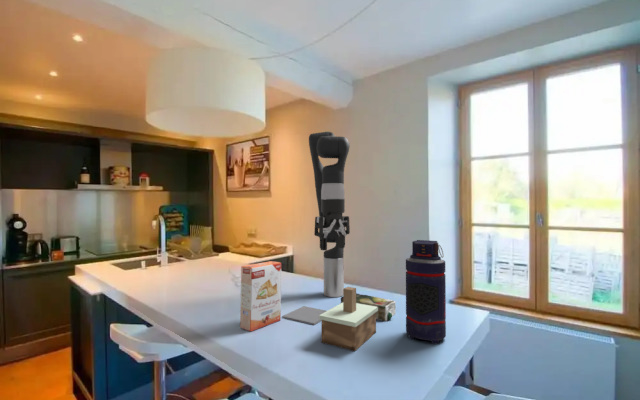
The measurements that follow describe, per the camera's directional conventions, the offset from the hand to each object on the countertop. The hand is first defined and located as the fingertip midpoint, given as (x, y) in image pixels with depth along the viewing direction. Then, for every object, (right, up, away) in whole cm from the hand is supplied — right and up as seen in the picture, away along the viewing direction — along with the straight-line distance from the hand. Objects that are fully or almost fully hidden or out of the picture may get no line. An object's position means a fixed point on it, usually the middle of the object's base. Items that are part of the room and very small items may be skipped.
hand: (332, 249), depth 103 cm
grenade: (+30, -28, -1) cm, 40 cm away
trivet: (-8, -28, +18) cm, 34 cm away
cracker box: (-24, -28, +9) cm, 38 cm away
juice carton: (+15, -28, +21) cm, 38 cm away
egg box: (+5, -27, -2) cm, 28 cm away
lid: (+5, -20, -2) cm, 21 cm away
